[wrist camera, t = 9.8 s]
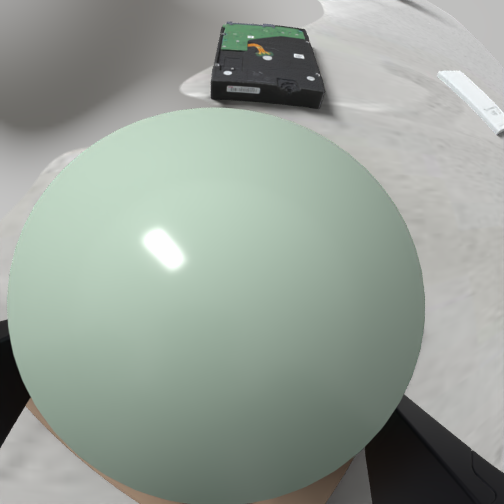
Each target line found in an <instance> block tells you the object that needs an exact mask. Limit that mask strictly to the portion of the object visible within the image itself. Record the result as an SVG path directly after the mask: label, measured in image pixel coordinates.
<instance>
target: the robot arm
mask: <svg viewBox="0 0 504 504" xmlns="http://www.w3.org/2000/svg"><path fill="white" fill-rule="evenodd" d="M30 398H31V396H30V394H29V392H28V390H27V388H26V386H25V384H24V382H23V380H22V378H21V375H20V372H19V369H18V366H17V363H16V360H15V357H14V354H13V350H12V345H11V339H10V334H9V328H8V320H4V321H0V448H1V446H2V444H3V443H4V441H5V439H6V437H7V436H8V434H9V432H10V431H11V429H12V427H13V425H14V424H15V422H16V420H17V419H18V417H19V416H20V414H21V412H22V411H23V409H24V407H25V406H26V404H27V403H28V401H29V399H30ZM365 455H366V463H367V469H368V475H369V482H370V489H371V496H372V504H504V473H503V472H501V471H500V470H498V469H497V468H496V467H494V466H493V465H491V464H490V463H489V462H487V461H486V460H485V459H483V458H482V457H481V456H480V455H478V454H477V453H476V452H475V451H473V450H472V451H471V448H470V447H468V446H467V445H466V444H465V443H463V442H462V441H461V440H460V439H458V438H457V437H456V436H455V435H453V434H452V433H451V432H450V431H448V430H447V429H446V428H445V427H444V426H442V425H441V424H440V423H439V422H437V421H436V420H435V419H434V418H432V417H431V416H430V415H429V414H427V413H426V412H425V411H424V410H423V409H421V408H420V407H419V406H418V405H416V404H415V403H414V402H413V401H412V400H410V399H409V398H408V397H407V396H405V395H403V397H402V399H401V401H400V403H399V404H398V406H397V407H396V409H395V410H394V412H393V413H392V415H391V416H390V418H389V419H388V420H387V422H386V423H385V425H384V426H383V428H382V429H381V430H380V431H379V432H378V433H377V434H376V435H375V436H374V437H373V439H372V440H371V441H370V442H369V443H368V444H367V445H366V446H365Z"/></svg>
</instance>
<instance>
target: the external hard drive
mask: <svg viewBox="0 0 504 504" xmlns="http://www.w3.org/2000/svg"><path fill="white" fill-rule="evenodd" d="M437 77H438V78H439V79H440V80H441V81H443V82H444V83H445V84H446V85H447V86H448V87H449V88H451V89H452V90H453V91H454V92H455V93H456V94H457V95H458V96H459V97H460V98H461V99H462V100H463V101H464V102H465V103H466V104H468V105H469V106H470V107H471V108H472V109H473V110H474V111H475V112H476V113H477V114H478V116H479V117H480V118H481V119H482V120H483V121H484V122H485V123H486V124H487V125H488V126H489V127H490V128H491V129H492V130H493V132H494V133H495V134H496V135H497V134H499V133H501V132H503V131H504V113H503V111H502V110H501V109H500V108H499V107H498V106H497V105H496V104H495V103H494V102H493V101H492V100H491V99H490V98H489V97H488V96H487V95H486V94H485V93H484V92H483V91H482V90H481V89H480V88H479V87H478V86H477V85H476V84H475V83H473V82H472V81H471V80H470V79H469V78H468V77H467V76H466V75H465V74H463V73H462V72H461V71H439V72H438V74H437Z"/></svg>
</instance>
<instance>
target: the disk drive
mask: <svg viewBox="0 0 504 504" xmlns="http://www.w3.org/2000/svg"><path fill="white" fill-rule="evenodd" d="M323 84H324V83H323V80H322V77H321V76H320V72H319V69H318V66H317V63H316V60H315V57H314V53H313V50H312V47H311V44H310V42H309V37H308V35H307V33H306V30H305V29H299V28H293V27H285V26H277V25H271V24H263V25H257V24H241V23H232V22H227V24H223V27H222V28H221V34H220V38H219V43H218V48H217V53H216V57H215V62H214V66H213V69H212V79H211V99H220V100H239V101H253V102H265V103H275V104H285V105H293V106H303V107H310V108H317V109H319V108H320V106H321V103H322V100H323V97H324V93H325V90H324V86H323Z"/></svg>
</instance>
